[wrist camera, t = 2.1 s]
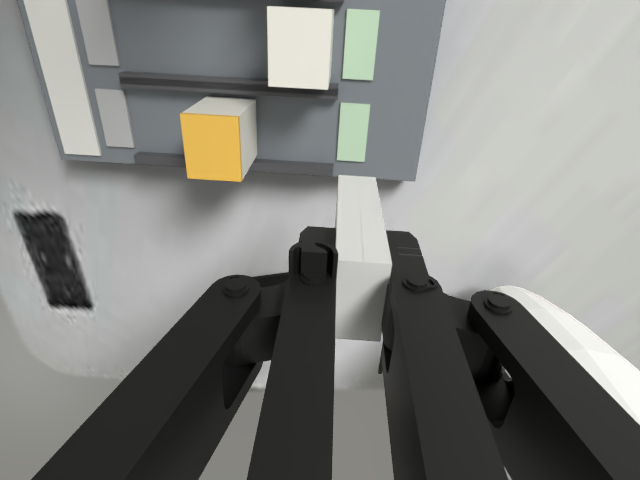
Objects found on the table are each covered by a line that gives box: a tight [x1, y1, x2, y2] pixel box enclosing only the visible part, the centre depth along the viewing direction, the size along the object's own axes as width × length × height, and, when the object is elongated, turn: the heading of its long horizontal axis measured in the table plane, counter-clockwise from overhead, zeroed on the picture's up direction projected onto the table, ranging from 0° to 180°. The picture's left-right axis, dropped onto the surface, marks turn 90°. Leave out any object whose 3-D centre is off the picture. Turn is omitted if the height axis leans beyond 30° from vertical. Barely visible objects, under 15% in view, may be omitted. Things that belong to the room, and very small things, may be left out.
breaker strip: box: [17, 0, 446, 181], centre depth 23 cm, size 16×24×6 cm, turn 87°
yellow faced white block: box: [180, 96, 257, 182], centre depth 24 cm, size 4×3×5 cm
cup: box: [488, 285, 640, 480], centre depth 24 cm, size 10×10×22 cm
